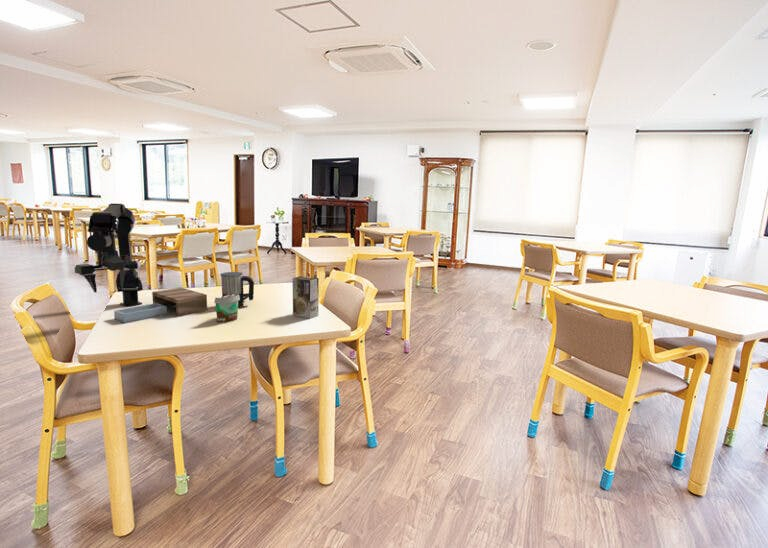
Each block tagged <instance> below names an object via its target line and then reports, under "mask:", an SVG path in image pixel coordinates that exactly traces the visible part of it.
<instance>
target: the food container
mask: <svg viewBox="0 0 768 548" xmlns="http://www.w3.org/2000/svg"><path fill="white" fill-rule="evenodd" d="M239 300H240V297H239V295H238V293H237V292H231V294H230V295H225V296H223V297H222V296H221V297H215V298H214V304H215V311H216V322H217V323H230V322H234V321H237V320H238V310H239V308H238V301H239Z"/></svg>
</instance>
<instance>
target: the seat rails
mask: <svg viewBox="0 0 768 548" xmlns="http://www.w3.org/2000/svg"><path fill="white" fill-rule="evenodd" d="M165 306H167V309H171V308H176V303H175V302H174V303H169V304H165Z"/></svg>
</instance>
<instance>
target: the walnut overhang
mask: <svg viewBox="0 0 768 548" xmlns="http://www.w3.org/2000/svg"><path fill="white" fill-rule="evenodd" d="M151 294H152V295H151V296H152V304H153V303H158V304H161V305H164V306H165V304H169V303H174V302H175V303H176V307H175V312H176V317H179V318H181V317H184V316H190V315H193V314H198V313H202V312H207V311H208V297H207V294H205V293H202V292H199V291H194V290H192V289H189V288H188V289H187V288H185V287H182V286H181V287H174V288H167V289H161V290H155V291H152V292H151Z"/></svg>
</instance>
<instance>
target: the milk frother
mask: <svg viewBox="0 0 768 548" xmlns="http://www.w3.org/2000/svg"><path fill="white" fill-rule="evenodd" d="M243 274H244V273H243V272H240V271H226V272H225V271H224V272H222V273H220V274H219V275H220V278H221V279H220V280H221V295H222V296H221V297H223V296H225V295H230V294H231V292H237V293H238V295H239V297H240V300H239V301H238V309H239V308H242V307H243V306H244V305H245V304H244V301H245V300H247V299H248V300H249V301H253V300H254V293H255V291H254V290H255V283H254V282H255V281H254V279H253V278H252V277H250V276H249V275H248V276H247V275H243ZM244 282H247V283H248V292H247V293H244Z"/></svg>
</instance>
